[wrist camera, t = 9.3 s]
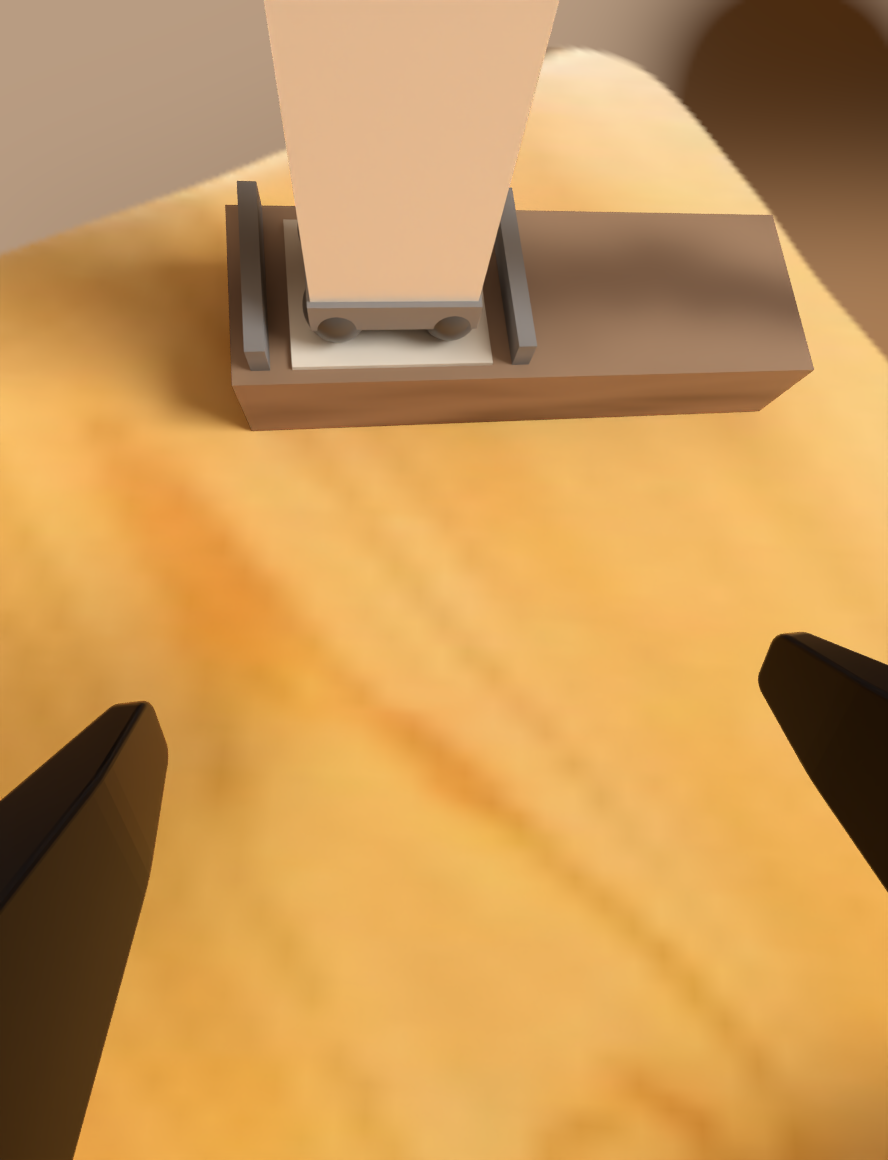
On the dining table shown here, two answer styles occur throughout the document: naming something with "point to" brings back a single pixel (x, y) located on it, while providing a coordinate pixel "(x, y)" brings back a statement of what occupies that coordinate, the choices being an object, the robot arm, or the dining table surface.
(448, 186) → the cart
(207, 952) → the dining table surface
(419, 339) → the dock
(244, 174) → the dining table surface
